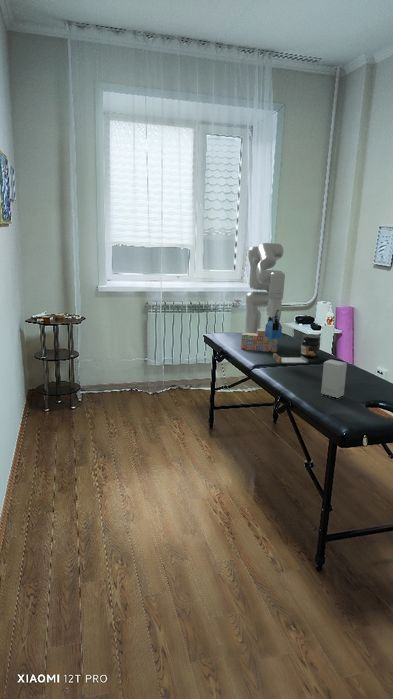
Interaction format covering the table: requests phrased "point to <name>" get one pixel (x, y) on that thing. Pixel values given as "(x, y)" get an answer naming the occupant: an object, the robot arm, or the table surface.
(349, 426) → the table surface
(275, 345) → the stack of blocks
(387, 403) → the table surface
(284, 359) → the mat
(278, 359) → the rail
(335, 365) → the skincare box
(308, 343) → the supplement container
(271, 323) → the perfume bottle
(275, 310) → the robot arm
